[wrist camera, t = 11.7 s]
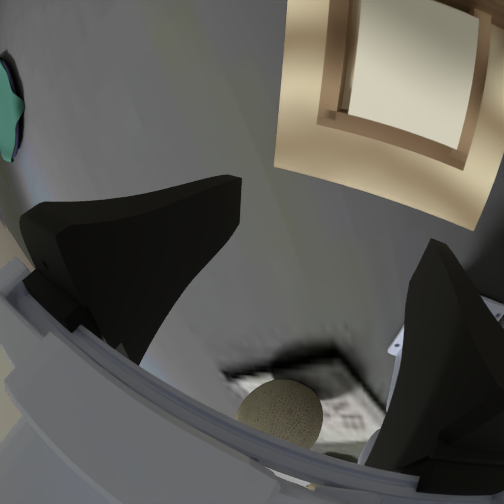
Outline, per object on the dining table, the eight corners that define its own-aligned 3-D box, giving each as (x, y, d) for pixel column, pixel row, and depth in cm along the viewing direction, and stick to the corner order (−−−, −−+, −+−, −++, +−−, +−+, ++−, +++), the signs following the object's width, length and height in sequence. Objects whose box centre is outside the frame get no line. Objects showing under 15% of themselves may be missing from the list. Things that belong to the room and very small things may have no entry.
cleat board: (470, 223, 15) (485, 268, 12) (279, 162, 20) (246, 189, 16) (517, 3, 5) (550, -11, 2) (297, -55, 10) (264, -86, 6)
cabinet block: (431, 119, 13) (456, 149, 8) (364, 99, 14) (348, 114, 9) (445, 27, 9) (479, 0, 4) (375, 7, 10) (363, -35, 5)
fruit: (349, 382, 30) (303, 500, 19) (317, 412, 38) (276, 500, 27) (269, 348, 33) (204, 459, 22) (253, 385, 40) (204, 468, 29)
